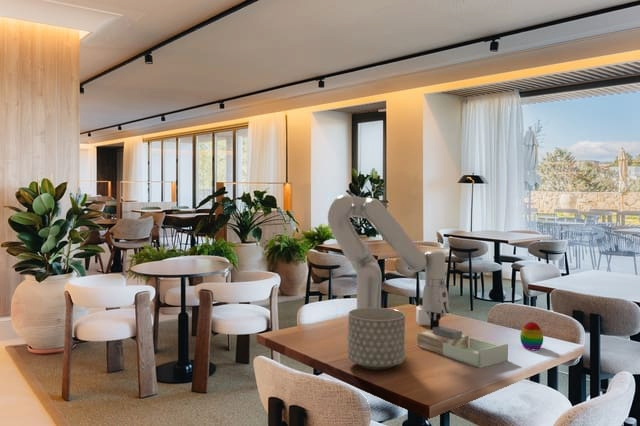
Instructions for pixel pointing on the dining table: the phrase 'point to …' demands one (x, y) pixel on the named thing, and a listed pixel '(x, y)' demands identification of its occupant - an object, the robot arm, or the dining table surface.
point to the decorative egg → (531, 336)
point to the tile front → (452, 333)
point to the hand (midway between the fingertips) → (434, 329)
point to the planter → (376, 337)
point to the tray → (478, 353)
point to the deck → (440, 341)
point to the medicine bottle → (421, 314)
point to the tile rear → (439, 330)
